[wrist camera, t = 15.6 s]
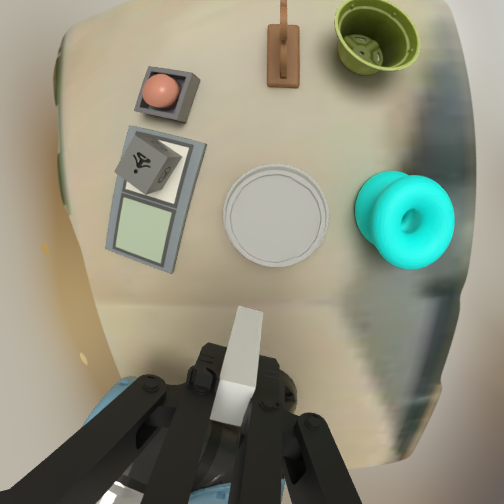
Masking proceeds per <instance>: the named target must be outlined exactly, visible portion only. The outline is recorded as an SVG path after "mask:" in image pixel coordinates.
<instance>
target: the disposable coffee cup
mask: <svg viewBox="0 0 504 504" xmlns="http://www.w3.org/2000/svg"><path fill="white" fill-rule="evenodd" d="M223 221H224V227H225V230H226V234H227V236H228V238H229V240H230V242H231V243H232V245H233V246H234V247H235V248H236V249H237V251H238V252H239V253H241V254H242V255H243V256H244V257H245V258H247V259H249V260H251V261H253V262H255V263H257V264H260V265H263V266H268V267H285V266H290V265H294V264H296V263H298V262H301V261H302V260H304V259H306V258H307V257H309V256H310V255H311V254H312V253H313V252H314V251H315V250H316V249H317V248H318V247H319V245H320V244H321V242H322V240H323V239H324V236H325V234H326V231H327V228H328V221H329V210H328V204H327V201H326V198H325V195H324V193H323V191H322V189H321V188H320V186H319V185H318V184H317V183H316V181H315V180H314V179H313V178H312V177H310V176H309V175H308V174H306V173H305V172H303V171H302V170H300V169H298V168H295V167H293V166H289V165H286V164H266V165H262V166H259V167H256V168H253V169H251V170H249V171H248V172H246V173H245V174H243V175H242V176H241V177H240V178H238V180H237V181H236V182H235V183H234V184H233V185H232V187H231V189H230V190H229V192H228V194H227V197H226V200H225V203H224V209H223Z"/></svg>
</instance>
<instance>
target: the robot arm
mask: <svg viewBox="0 0 504 504" xmlns="http://www.w3.org/2000/svg"><path fill="white" fill-rule="evenodd" d="M262 321H263V312H262V311H258V310H254V309H250V308H246V307H242V306H238V309H237V313H236V317H235V321H234V324H233V328H232V332H231V336H230V339H229V343H228V347H223V346H219V345H216V344H212V343H209V342H208V343H207V344H206V345H204V346H203V347H202V349H201V352H200V354H199V357H198V360H197V362H196V364H195V365H194V366H192V367H191V368H190V369H189V370H188V374H187V380H186V383H184V384H181V385H166V383H165V382H164V380H162V379H161V378H160V377H158V376H155V375H148V374H147V375H142V376H140V377H139V378H136V377H131V376H129V377H124V378H122V379H121V380H119V381H118V382H117V383H116V384H115V385H114V386H113V387H112V388H111V389H110V390H109V391H108V393H107V394H106V395H105V396H104V397H103V398H102V400H101V401H100V402H99V403H98V404H97V406H96V407H95V408H94V410H93V411H92V412H91V414H90V415H89V416H88V418H87V419H86V421H85V422H84V425H83V427H82V428H81V429H80V430H78V431H77V432H76V433H75V434H74V435H73V436H72V437H70V438H69V439H68V440H67V441H66V442H65V443H63V444H62V445H61V446H60V447H59V448H58V449H56V450H55V451H54V452H53V453H52V454H51V455H49V457H47V458H46V459H45V460H44V461H42V462H41V463H40V464H39V465H38V466H36V467H35V468H34V469H33V470H32V471H31V472H29V473H28V474H27V475H26V476H25V477H24V478H22V479H21V480H20V481H19V482H17V483H16V484H15V485H14V486H13V487H11V489H8V490H4V491H1V492H0V504H188V503H189V504H281V501H282V496H283V490H284V485H285V480H286V484H287V487H288V491H289V495H290V498H291V502H292V504H362V502H361V500H360V498H359V496H358V493H357V491H356V488H355V486H354V484H353V482H352V479H351V477H350V475H349V473H348V470H347V468H346V466H345V464H344V461H343V459H342V457H341V454H340V452H339V450H338V448H337V445H336V443H335V441H334V439H333V436H332V434H331V432H330V429H329V427H328V425H327V423H326V421H325V420H324V418H322V417H321V416H320V415H317V414H315V413H309V412H308V413H303V414H302V415H300V416H297V415H295V414H293V413H294V411H295V409H296V405H297V390H296V387H295V384H294V382H293V381H292V379H291V378H290V377H289V376H288V375H287V374H285V373H284V372H283V371H281V370H279V364H278V362H277V360H276V359H275V358H270V357H266V356H261V355H259V351H260V341H261V331H262ZM284 477H285V480H284Z"/></svg>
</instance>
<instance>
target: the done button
mask: <svg viewBox="0 0 504 504" xmlns="http://www.w3.org/2000/svg"><path fill="white" fill-rule="evenodd" d="M182 88H183V87H182V86H181V84H180V83H179V82H177V81H175V80H174V79H172V78H171V77H169V76H167V75H165V74H157V75H154V76H152V77H151V78H149V79H148V80H147V81H146V83H145V84H144V87H143V90H142V95H143V99H144V100H145V102H146V103H147V104H149V105H151V106H154V107H158V108H161V109H164V110H169V109H173V108H175V107H176V106H177V103H178V100H179V97H180V94H181V91H182Z"/></svg>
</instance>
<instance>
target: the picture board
mask: <svg viewBox="0 0 504 504" xmlns="http://www.w3.org/2000/svg"><path fill="white" fill-rule="evenodd" d="M134 135H143V136H153V137H154V138H156V139H157V140H159V141H160V142H162V143H163V144H165V145H166V146H168V147H169V148H171V149H172V150H174V151H175V152H176V153H178V154H179V155H181V156H182V158H181V160H180V161H179V163H178V164H177V166H176V168H175V169H174V171H173V172H172V174H171V176H170V177H169V179H168V180H167V182H166V184H165V185H164V187H163V189H162V190H159V191H156V192H153V193H150V194H147V195H145V194H144V193H142V192H141V191H140V190H138V189H137V188H135V187H134V186H133V185H131V184H130V183H129V182H127V181H126V180H125V179H123V178H122V177H121V176H119V175H118V174H117V179H116V184H115V189H114V194H113V200H112V206H111V212H110V218H109V224H108V231H107V239H106V247H105V249H107V250H110V251H112V252H115V253H117V254H120V255H123V256H125V257H128V258H130V259H133V260H136V261H138V262H141V263H143V264H146V265H149V266H151V267H154V268H157V269H159V270H162V271H165V272H168V273H170V274H172V272H173V271H174V267H175V263H176V259H177V254H178V250H179V246H180V242H181V237H182V233H183V229H184V225H185V221H186V217H187V214H188V210H189V206H190V202H191V198H192V195H193V191H194V187H195V184H196V180H197V177H198V173H199V170H200V166H201V163H202V159H203V156H204V153H205V149H206V146H207V144H205V143H201V142H198V141H194V140H190V139H186V138H182V137H178V136H174V135H170V134H166V133H162V132H157V131H153V130H149V129H144V128H140V127H135V126H129V128H128V132H127V136H126V140H125V143H124V148H123V152H122V156H123V155H124V153H125V151H126V149H127V147H128V146H129V144H130V142H131V140H132V139H133V137H134ZM122 156H121V158H122Z"/></svg>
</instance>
